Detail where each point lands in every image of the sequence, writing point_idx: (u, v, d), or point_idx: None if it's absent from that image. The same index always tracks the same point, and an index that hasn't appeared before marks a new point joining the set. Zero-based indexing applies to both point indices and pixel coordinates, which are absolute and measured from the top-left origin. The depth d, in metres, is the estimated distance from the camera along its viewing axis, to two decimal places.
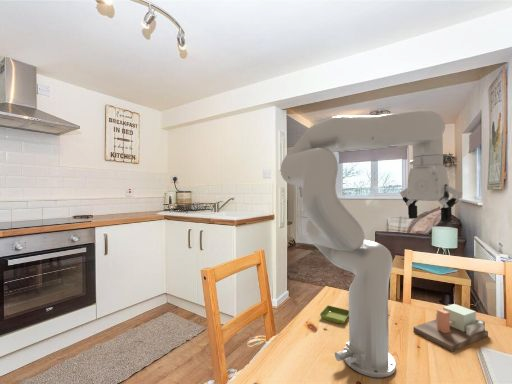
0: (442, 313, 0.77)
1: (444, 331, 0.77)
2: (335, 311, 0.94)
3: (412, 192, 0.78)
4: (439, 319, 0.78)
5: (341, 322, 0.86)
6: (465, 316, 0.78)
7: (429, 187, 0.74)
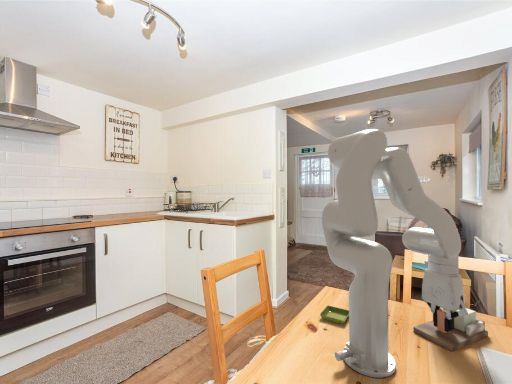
0: (442, 313, 0.77)
1: (444, 331, 0.77)
2: (335, 311, 0.94)
3: (427, 294, 0.80)
4: (439, 319, 0.78)
5: (341, 322, 0.86)
6: (465, 316, 0.78)
7: (445, 296, 0.75)
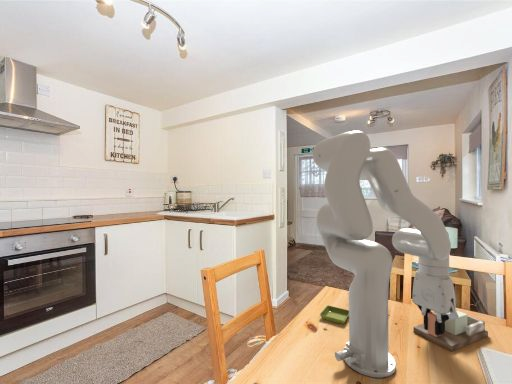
0: (433, 316, 0.76)
1: (435, 334, 0.75)
2: (335, 311, 0.94)
3: (418, 297, 0.78)
4: (430, 322, 0.77)
5: (341, 322, 0.86)
6: (456, 319, 0.76)
7: (435, 299, 0.73)
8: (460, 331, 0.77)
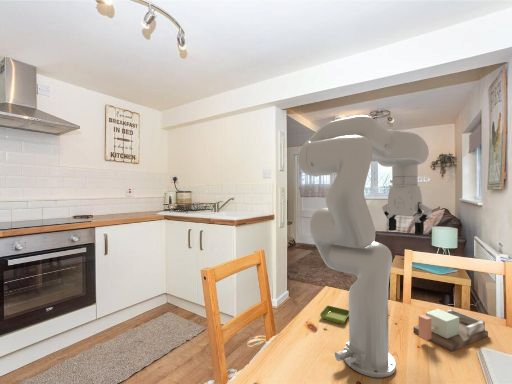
0: (423, 319, 0.74)
1: (425, 338, 0.74)
2: (335, 311, 0.94)
3: (391, 207, 0.89)
4: (420, 325, 0.75)
5: (341, 322, 0.86)
6: (447, 322, 0.74)
7: (405, 204, 0.84)
8: (452, 334, 0.75)
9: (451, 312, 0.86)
